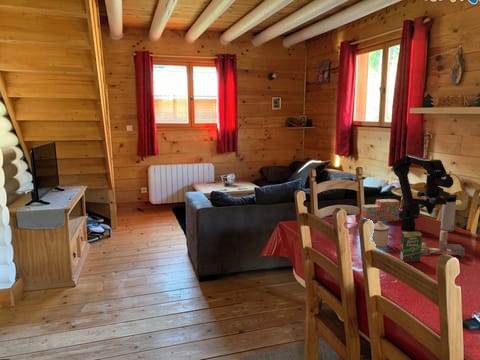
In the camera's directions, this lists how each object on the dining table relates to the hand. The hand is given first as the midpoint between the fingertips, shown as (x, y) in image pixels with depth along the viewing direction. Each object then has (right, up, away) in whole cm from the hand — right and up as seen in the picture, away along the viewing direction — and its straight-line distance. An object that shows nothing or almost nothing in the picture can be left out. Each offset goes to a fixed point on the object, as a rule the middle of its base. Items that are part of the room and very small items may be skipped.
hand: (429, 213), depth 188 cm
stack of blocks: (-13, -7, +35) cm, 38 cm away
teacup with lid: (-30, -15, -5) cm, 34 cm away
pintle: (-12, -17, -17) cm, 27 cm away
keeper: (+1, -17, -21) cm, 27 cm away
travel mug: (+17, -11, +14) cm, 24 cm away
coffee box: (-23, -19, -26) cm, 39 cm away
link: (-7, -16, -19) cm, 26 cm away
